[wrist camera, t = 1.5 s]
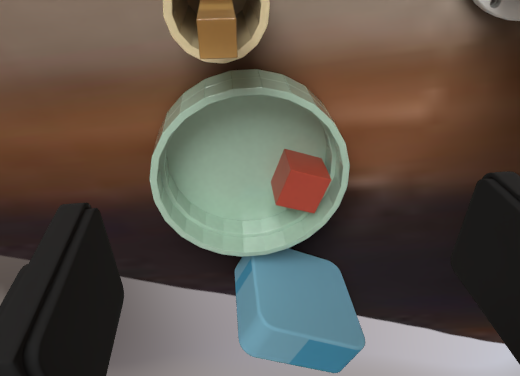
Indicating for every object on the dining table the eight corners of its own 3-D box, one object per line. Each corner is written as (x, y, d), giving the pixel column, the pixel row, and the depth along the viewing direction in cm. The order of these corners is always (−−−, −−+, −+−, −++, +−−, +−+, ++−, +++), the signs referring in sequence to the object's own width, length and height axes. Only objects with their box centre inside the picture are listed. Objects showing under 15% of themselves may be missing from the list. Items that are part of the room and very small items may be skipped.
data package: (233, 262, 46) (238, 355, 36) (249, 235, 44) (260, 325, 34) (319, 286, 50) (345, 376, 40) (338, 262, 48) (370, 351, 38)
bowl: (202, 30, 31) (200, 46, 27) (369, 118, 37) (389, 142, 33) (132, 191, 39) (122, 222, 35) (279, 243, 45) (285, 275, 41)
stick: (204, -25, 29) (195, 18, 16) (226, -26, 29) (236, 17, 16) (206, -1, 30) (199, 59, 16) (227, -2, 30) (238, 58, 17)
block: (270, 181, 40) (275, 205, 36) (284, 148, 38) (290, 169, 34) (306, 190, 41) (314, 213, 37) (321, 157, 39) (331, 179, 35)
